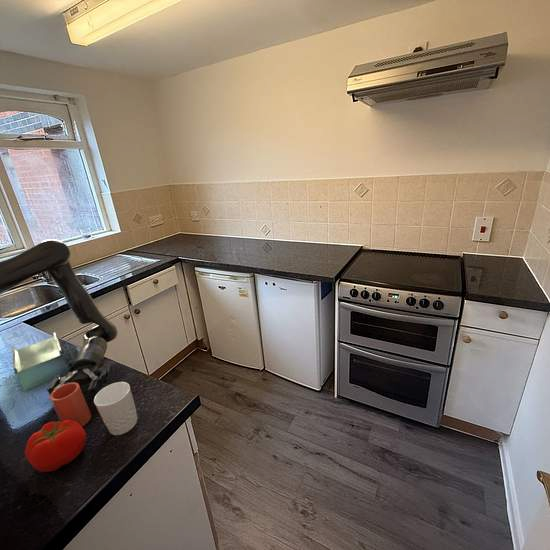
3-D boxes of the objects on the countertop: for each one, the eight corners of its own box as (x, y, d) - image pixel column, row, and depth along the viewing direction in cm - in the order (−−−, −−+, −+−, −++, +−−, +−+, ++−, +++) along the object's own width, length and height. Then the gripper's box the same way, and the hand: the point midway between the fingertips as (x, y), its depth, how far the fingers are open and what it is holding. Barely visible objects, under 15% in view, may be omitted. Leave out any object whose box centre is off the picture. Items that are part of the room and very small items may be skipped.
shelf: (22, 368, 102) (12, 347, 99) (63, 352, 109) (55, 332, 106) (24, 391, 91) (13, 368, 88) (70, 371, 98) (61, 350, 95)
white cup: (99, 432, 74) (86, 400, 70) (126, 408, 80) (115, 378, 77) (121, 442, 70) (108, 409, 67) (147, 416, 77) (136, 386, 73)
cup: (60, 434, 74) (45, 403, 71) (68, 416, 80) (54, 386, 76) (87, 426, 76) (74, 396, 72) (93, 408, 81) (81, 379, 78)
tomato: (93, 460, 67) (80, 431, 63) (32, 492, 61) (15, 463, 58) (88, 429, 75) (77, 402, 72) (35, 455, 69) (20, 427, 66)
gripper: (58, 357, 89) (35, 394, 74) (110, 345, 92) (98, 378, 78) (67, 377, 92) (46, 417, 77) (117, 365, 95) (106, 400, 81)
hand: (72, 397), depth 77 cm, fingers open, 8 cm apart
